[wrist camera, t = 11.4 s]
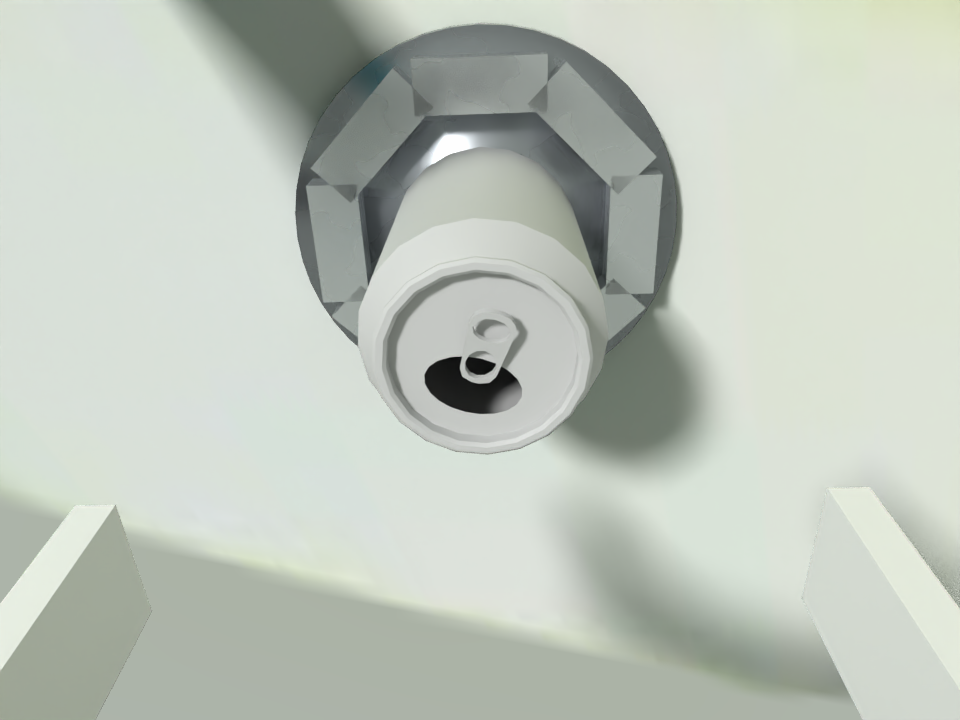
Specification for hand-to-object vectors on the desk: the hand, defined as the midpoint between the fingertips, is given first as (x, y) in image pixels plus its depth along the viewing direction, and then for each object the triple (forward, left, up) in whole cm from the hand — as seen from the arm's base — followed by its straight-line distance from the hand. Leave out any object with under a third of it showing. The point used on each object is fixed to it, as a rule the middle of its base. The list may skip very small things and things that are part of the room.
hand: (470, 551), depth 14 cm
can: (0, 0, -20) cm, 20 cm away
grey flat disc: (0, 0, -20) cm, 20 cm away
